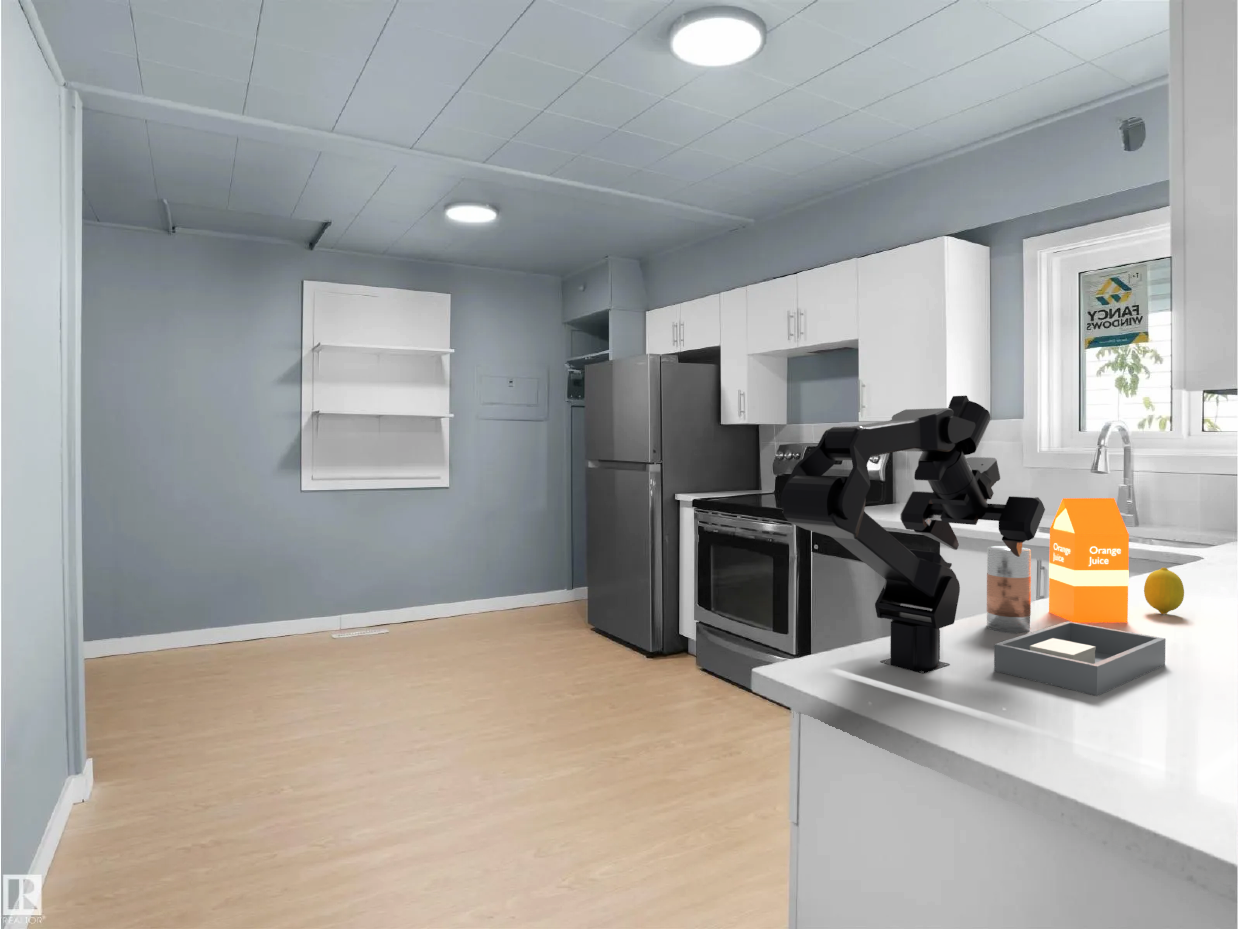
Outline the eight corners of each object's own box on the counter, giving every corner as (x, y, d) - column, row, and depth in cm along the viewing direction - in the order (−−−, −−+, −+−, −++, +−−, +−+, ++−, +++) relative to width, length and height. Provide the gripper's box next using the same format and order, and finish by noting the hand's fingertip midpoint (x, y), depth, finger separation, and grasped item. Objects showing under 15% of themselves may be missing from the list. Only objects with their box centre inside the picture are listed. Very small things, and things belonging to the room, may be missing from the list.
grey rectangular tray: (1096, 701, 88) (1097, 666, 88) (994, 675, 98) (994, 644, 97) (1165, 669, 100) (1165, 638, 99) (1067, 648, 109) (1067, 621, 109)
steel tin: (1017, 639, 115) (1018, 552, 114) (978, 631, 120) (979, 548, 119) (1037, 632, 118) (1038, 549, 118) (998, 625, 123) (999, 544, 123)
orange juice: (1128, 622, 124) (1130, 499, 124) (1073, 622, 125) (1075, 500, 124) (1099, 611, 132) (1100, 496, 132) (1047, 611, 132) (1049, 496, 132)
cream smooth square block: (1072, 684, 92) (1073, 655, 92) (1029, 674, 96) (1029, 645, 96) (1095, 675, 95) (1095, 646, 95) (1052, 665, 99) (1052, 638, 99)
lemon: (1190, 618, 126) (1191, 570, 126) (1153, 617, 128) (1153, 569, 127) (1173, 611, 132) (1174, 565, 132) (1137, 610, 133) (1138, 564, 133)
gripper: (1040, 438, 103) (1071, 514, 110) (910, 438, 117) (945, 506, 124) (1013, 499, 98) (1048, 575, 105) (882, 492, 112) (920, 559, 120)
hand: (987, 550), depth 114 cm, fingers open, 9 cm apart
